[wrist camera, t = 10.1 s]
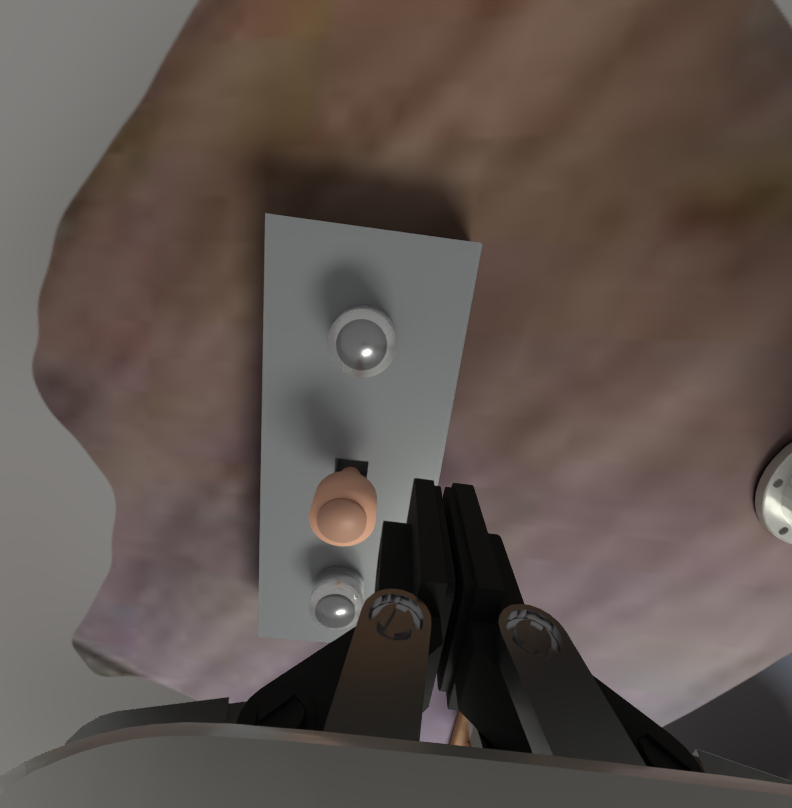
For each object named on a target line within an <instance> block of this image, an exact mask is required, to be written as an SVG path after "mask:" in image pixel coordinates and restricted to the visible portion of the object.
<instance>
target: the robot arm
mask: <svg viewBox="0 0 792 808" xmlns="http://www.w3.org/2000/svg"><path fill="white" fill-rule="evenodd" d="M755 507H756V513H757V516H758V518H759V520H760V522H761V523H762V525H763V526H764V527H765V528H766V529H767V530H768V531H769V532H771V533H772V534H773V535H775V536H776V537H777V538H779V539H781V540H783V541H784V542H786V543H789V544H792V442H791V443H790V444H788V445H787V446H786V447H785V448H784V449H782V450H781V451H780V452H779V453H778V454H777V455H776V456H775V457H774V459H773V460H772V461H771V462H770V464H769V465H768V466H767V468H766V469H765V471H764V473H763V475H762V477H761V478H760V481H759V484H758V487H757V490H756V496H755ZM436 673H437V681H438V689H439V691H446V695H447V705H448V709H452V710H459V711H460V712H461V713H462V714H463V715H464V716H465V717H466V718H467V719H468V720H469V721H470V723H469V728H468V729H469V737H470V742H471V745H472V747H468V746H459V745H450V744H440V743H431V742H421V741H420V731H421V721H422V713H423V712H424V711H425V710H426V709H427V708H428V707H429V703H430V698H431V694H432V690H433V686H434V682H435V678H436ZM0 808H792V781H789V780H786V779H783V778H780V777H777V776H774V775H771V774H768V773H765V772H762V771H759V770H756V769H753V768H750V767H747V766H745V765H741V764H739V763H736V762H733V761H730V760H727V759H724V758H721V757H718V756H715V755H712V754H709V753H706V752H703V751H701V750H698V749H696V750H695V752H694V753H693V755H691V754H690V752H689V751H688V750H687V749H686V748H685V747H684V746H683V745H682V744H681V743H680V742H679V741H678V740H676V739H675V738H674V737H673V736H672V735H671V734H670V733H668V732H667V731H666V730H664V729H663V728H662V727H660V726H659V725H658V724H656V723H655V722H654V721H652V720H651V719H650V718H648V717H647V716H646V715H644V714H643V713H642V712H640V711H639V710H638V709H636V708H635V707H634V706H632V705H631V704H630V703H629V702H627V701H626V700H625V699H623V698H622V697H621V696H619V695H618V694H617V693H615V692H614V691H613V690H611V689H610V688H609V687H607V686H606V685H605V684H603V683H602V682H601V681H599V680H598V679H597V678H595V677H594V676H593V675H592V674H591V672H590V671H589V669H588V667H587V666H586V664H585V662H584V661H583V659H582V657H581V655H580V654H579V652H578V650H577V649H576V647H575V645H574V644H573V642H572V640H571V639H570V637H569V635H568V634H567V632H566V631H565V629H564V628H563V627H562V625H561V624H560V623H559V622H558V621H557V620H556V619H555V618H553V617H552V616H551V615H550V614H548V613H546V612H545V611H543V610H541V609H539V608H536V607H534V606H531V605H525V604H524V602H523V599H522V596H521V593H520V590H519V587H518V585H517V582H516V579H515V576H514V573H513V570H512V567H511V565H510V562H509V559H508V556H507V553H506V550H505V548H504V545H503V542H502V539H501V537H500V536H499V535H497V534H489V533H488V532H487V528H486V525H485V522H484V519H483V515H482V512H481V509H480V506H479V502H478V499H477V496H476V493H475V490H474V487H473V485H467V484H459V483H453V484H452V487H451V488H450V487H445V490H444V494H443V498H442V492H441V487H440V486H435V485H434V480H427V479H420V478H414V481H413V487H412V492H411V498H410V504H409V510H408V516H407V522H406V523H400V522H392V521H383V525H382V532H381V538H380V545H379V553H378V561H377V570H376V581H375V592H374V593H373V594H372V595H371V596H370V597H368V598H367V599H366V601H365V603H364V604H363V606H362V609H361V612H360V615H359V618H358V621H357V625H356V626H355V627H354V628H352V629H351V630H349V631H348V632H346V633H345V634H343V635H342V636H340V637H339V638H337V639H336V640H334V641H332V642H331V643H329V644H328V645H326V646H325V647H323V648H322V649H320V650H319V651H317V652H316V653H314V654H313V655H311V656H310V657H308V658H307V659H305V660H304V661H302V662H301V663H299V664H298V665H296V666H294V667H293V668H291V669H290V670H288V671H287V672H285V673H284V674H282V675H281V676H279V677H278V678H276V679H275V680H273V681H272V682H270V683H269V684H267V685H266V686H264V687H263V688H261V689H260V690H259V691H257V692H256V693H255V694H254V695H253V696H252V697H250V698H249V700H248V701H246V702H238V703H230V704H229V697H226V698H218V699H210V700H202V701H194V702H187V703H179V704H170V705H162V706H154V707H146V708H139V709H131V710H123V711H116V712H112V713H109V714H106V715H102V716H99V717H98V718H96V719H94V720H93V721H91V722H89V723H87V724H86V725H84V726H82V727H81V728H80V729H79V730H78V731H77V732H76V733H75V734H74V735H73V736H72V737H71V738H70V739H69V740H67V742H66V743H65V745H63V746H60V747H58V748H55V749H52V750H50V751H47V752H45V753H43V754H41V755H39V756H36V757H34V758H32V759H29V760H28V761H25V762H23V763H21V764H19V765H18V766H16V767H14V768H12V769H11V770H9V771H7V772H5V773H4V774H2V775H1V776H0Z"/></svg>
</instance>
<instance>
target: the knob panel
mask: <svg viewBox="0 0 792 808" xmlns="http://www.w3.org/2000/svg"><path fill="white" fill-rule="evenodd" d="M482 244H483V243H477V242H470V241H463V240H456V239H448V238H441V237H434V236H427V235H419V234H412V233H405V232H398V231H390V230H383V229H376V228H369V227H361V226H354V225H347V224H340V223H332V222H325V221H318V220H311V219H304V218H296V217H289V216H282V215H275V214H267V213H265V254H264V312H263V370H262V429H261V487H260V545H259V604H258V637H269V638H281V639H293V640H305V641H317V642H329V643H331V642H332V641H334V640H336V639H337V638H339V637H340V636H342V635H343V634H345V633H346V632H348V631H349V630H351V629H352V628H354V627H355V626H356V625H357V622H356V623H355V624H354V625H352V626H350V627H348V628H345V629H339V630H334V629H328V628H325V627H322V626H320V625H319V624H317V623H316V622H315V621H314V620H313V619H312V618H311V616H310V614H309V610H308V607H309V602H310V597H311V593H312V589H313V585H314V581H315V578H316V577H317V575H318V574H319V573H320V572H322V571H323V570H325V569H327V568H331V567H345V568H349V569H351V570H353V571H355V572H356V573H357V574H359V576H360V577H361V578H362V580H363V582H364V597H363V604H364V603H365V601H366V599H367V598H368V597H370V596H371V595H372V594H373V593H374V592H375V581H376V570H377V561H378V553H379V545H380V538H381V532H382V525H383V521H392V522H400V523H406V522H407V516H408V510H409V504H410V498H411V492H412V487H413V481H414V478H420V479H427V480H434V485H435V486H438V482H439V476H440V471H441V465H442V460H443V455H444V449H445V444H446V438H447V433H448V428H449V422H450V417H451V411H452V406H453V401H454V395H455V390H456V384H457V379H458V373H459V368H460V363H461V357H462V352H463V346H464V341H465V336H466V330H467V325H468V319H469V314H470V309H471V303H472V298H473V292H474V287H475V281H476V276H477V271H478V265H479V260H480V254H481V249H482ZM357 305H370V306H374V307H376V308H378V309H380V310H382V311H383V312H384V313H386V314H387V316H388V317H389V318H390V319H391V321H392V323H393V325H394V328H395V332H396V352H395V356H394V358H393V360H392V362H391V363H390V365H389V366H388V367H387V368H386V369H385V370H384V371H382V372H381V373H379V374H377V375H375V376H372V377H366V378H359V377H354V376H351V375H348V374H346V373H344V372H343V371H341V370H340V369H339V368H338V367H337V366H336V365H335V364H334V362H333V361H332V359H331V357H330V355H329V352H328V347H327V338H328V333H329V330H330V328H331V326H332V325H333V323H334V322H335V321H336V319H337V318H338V317H339V316H340V315H341V314H342V313H343V312H344V311H345V310H347V309H349V308H351V307H353V306H357ZM346 467H354V468H356V469H358V471H359V472H360V475H362V476H364V477H365V478H367V479H368V480H369V481H370V482H371V483H372V485H373V486H374V488H375V490H376V494H377V509H376V523H375V527H374V530H373V531H372V533H371V534H370V536H369V537H368V538H366V539H365V540H364V541H362V542H360V543H358V544H355V545H352V546H335V545H331V544H329V543H326V542H324V541H323V540H321V539H320V538H319V537H318V536H317V535H316V534H315V533H314V532H313V530H312V528H311V526H310V523H309V511H310V508H311V504H312V501H313V498H314V495H315V492H316V489H317V487H318V485H319V483H320V482H321V481H322V480H323V479H324V478H325V477H327V476H328V475H330V474H332V473H335V472H340V471H342V470H343V469H344V468H346Z"/></svg>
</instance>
